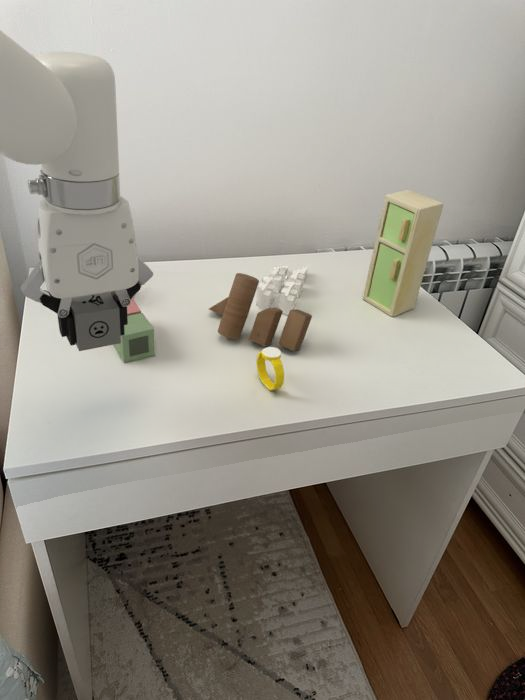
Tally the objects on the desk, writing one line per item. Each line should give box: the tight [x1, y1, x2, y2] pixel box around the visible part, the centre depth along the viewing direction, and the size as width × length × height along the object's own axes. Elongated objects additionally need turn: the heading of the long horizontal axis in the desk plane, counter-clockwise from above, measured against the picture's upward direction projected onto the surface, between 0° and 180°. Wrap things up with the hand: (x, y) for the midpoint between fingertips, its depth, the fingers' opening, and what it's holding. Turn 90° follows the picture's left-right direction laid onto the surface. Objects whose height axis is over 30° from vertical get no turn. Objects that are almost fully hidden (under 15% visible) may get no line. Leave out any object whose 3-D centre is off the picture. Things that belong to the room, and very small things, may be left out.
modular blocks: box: [255, 265, 309, 316], centre depth 104 cm, size 20×7×4 cm, turn 165°
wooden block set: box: [208, 272, 313, 352], centre depth 88 cm, size 18×9×10 cm, turn 59°
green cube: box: [112, 312, 156, 364], centre depth 83 cm, size 5×5×5 cm
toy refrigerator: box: [362, 189, 444, 317], centre depth 97 cm, size 8×7×21 cm
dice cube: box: [70, 292, 121, 352], centre depth 64 cm, size 5×5×5 cm
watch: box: [256, 346, 285, 392], centre depth 78 cm, size 6×3×6 cm, turn 28°
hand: (94, 333), depth 66 cm, fingers closed on dice cube, 5 cm apart
